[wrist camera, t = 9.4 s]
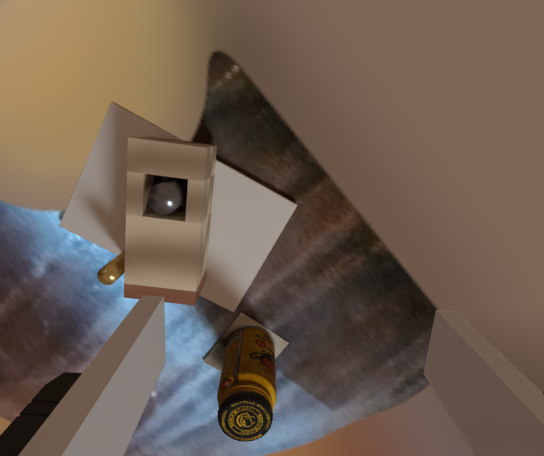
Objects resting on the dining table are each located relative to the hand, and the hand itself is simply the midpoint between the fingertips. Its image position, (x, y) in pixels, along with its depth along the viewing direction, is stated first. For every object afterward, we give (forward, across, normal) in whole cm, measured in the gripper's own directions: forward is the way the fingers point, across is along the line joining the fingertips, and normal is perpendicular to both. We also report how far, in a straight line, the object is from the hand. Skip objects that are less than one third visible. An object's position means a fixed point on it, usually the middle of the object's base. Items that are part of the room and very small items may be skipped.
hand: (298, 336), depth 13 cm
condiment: (+28, -3, -20) cm, 34 cm away
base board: (+28, -11, -2) cm, 30 cm away
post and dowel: (+28, -13, -3) cm, 31 cm away
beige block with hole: (+27, -11, -2) cm, 29 cm away
